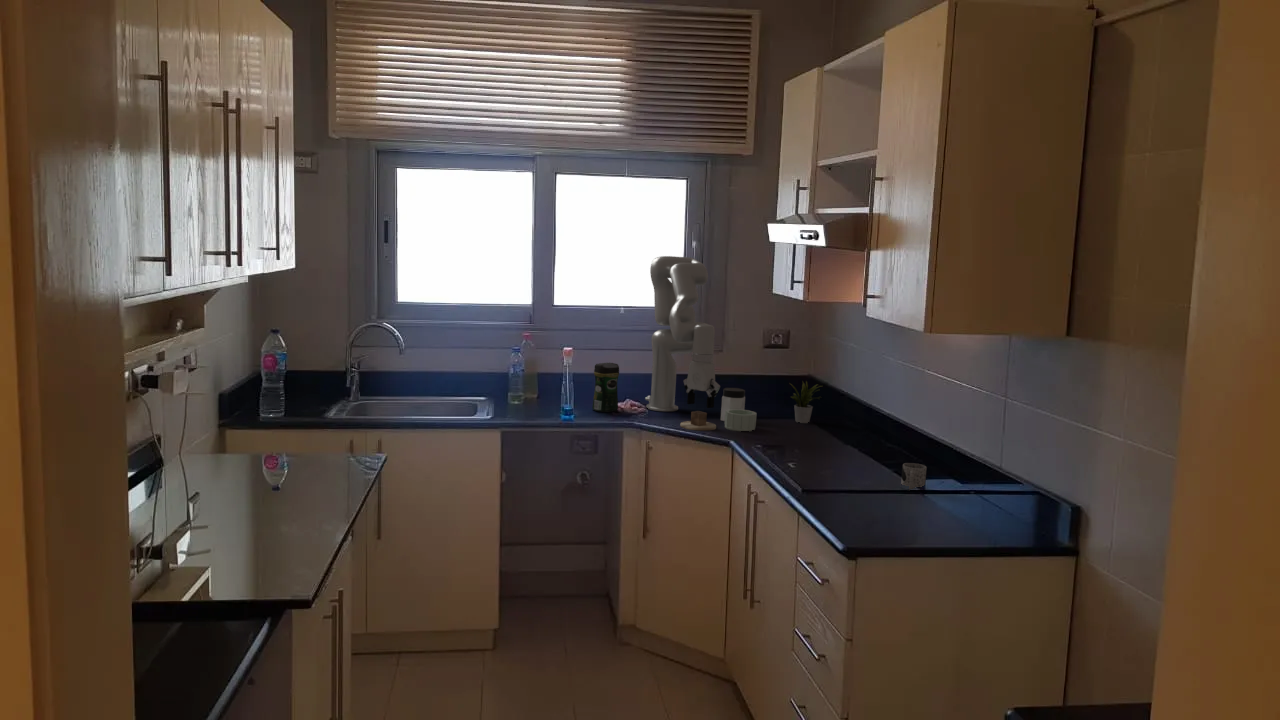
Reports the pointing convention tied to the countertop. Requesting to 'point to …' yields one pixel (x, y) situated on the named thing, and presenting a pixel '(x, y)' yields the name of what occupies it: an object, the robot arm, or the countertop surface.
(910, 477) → the mug
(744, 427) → the bowl
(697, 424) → the lid
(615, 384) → the coffee jar
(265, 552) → the countertop surface
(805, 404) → the house plant
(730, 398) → the jar
